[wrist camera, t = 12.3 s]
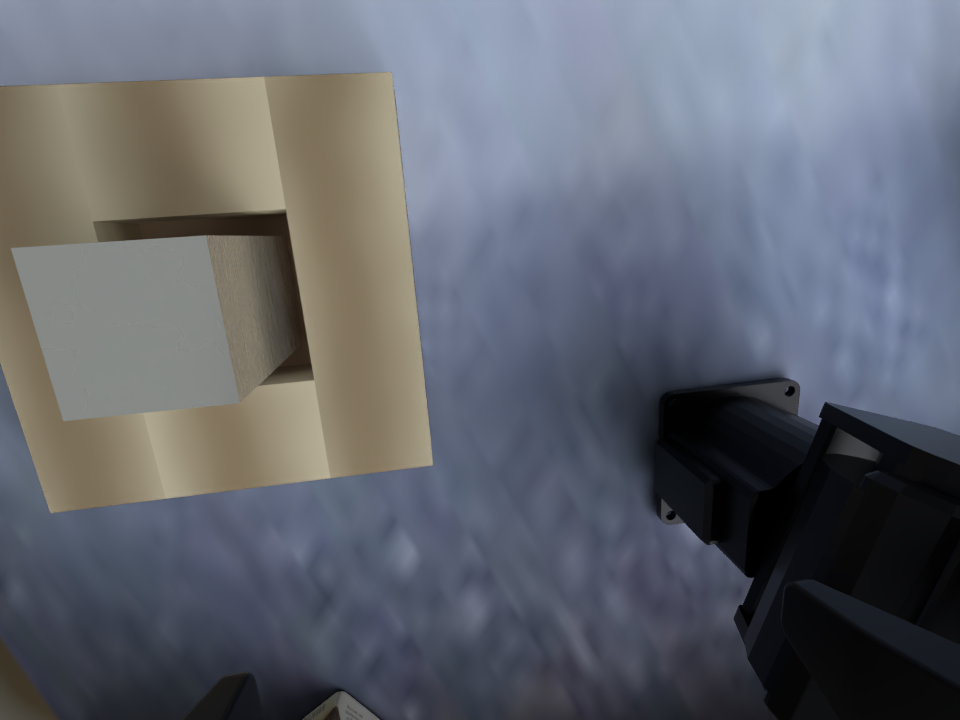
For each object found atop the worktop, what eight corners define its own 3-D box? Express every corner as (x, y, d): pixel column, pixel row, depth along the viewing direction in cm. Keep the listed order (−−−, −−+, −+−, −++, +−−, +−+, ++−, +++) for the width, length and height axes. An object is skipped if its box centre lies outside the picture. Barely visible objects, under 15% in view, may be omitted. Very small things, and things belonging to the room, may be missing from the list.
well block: (395, 99, 17) (391, 71, 15) (430, 433, 21) (432, 465, 18) (-1, 116, 16) (-92, 89, 13) (104, 471, 19) (50, 513, 16)
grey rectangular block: (285, 236, 18) (205, 235, 11) (302, 343, 19) (239, 403, 12) (168, 243, 17) (10, 248, 10) (193, 353, 18) (63, 421, 11)
